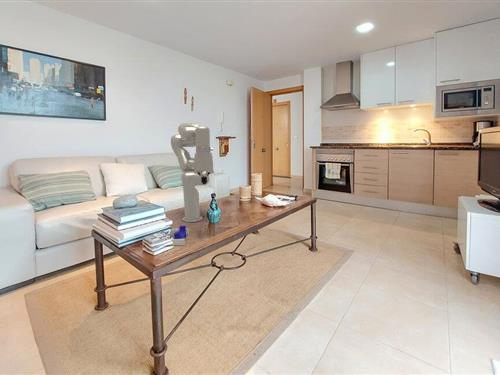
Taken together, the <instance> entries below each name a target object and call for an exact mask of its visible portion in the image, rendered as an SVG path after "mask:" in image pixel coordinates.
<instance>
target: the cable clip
mask: <svg viewBox="0 0 500 375" xmlns="http://www.w3.org/2000/svg"><path fill="white" fill-rule="evenodd" d="M186 228H187V226H186V225H179V228H178V229H179V231H177V232H176V233H174V235H173V239H185V240H186V237H187V234H186Z"/></svg>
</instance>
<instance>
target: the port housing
mask: <svg viewBox="0 0 500 375" xmlns="http://www.w3.org/2000/svg"><path fill="white" fill-rule="evenodd" d="M177 231H179V228H170V229H169V230H168V232H167V234H170V235H172V236H174V233H176V232H177ZM189 231H190V228H188V227H186V235H190V232H189ZM172 242H173V245H175V246H185V245H186V238H185V239H174V238H173V239H172ZM175 246H174V247H175Z"/></svg>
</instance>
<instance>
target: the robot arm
mask: <svg viewBox="0 0 500 375" xmlns="http://www.w3.org/2000/svg"><path fill="white" fill-rule="evenodd" d="M177 131H178V134H174V135H172V136H171V138H170V145H171V148H172V150H173V153H174V154H175V156H176V157H177V161H178V165H179V168H180V170H181V172H182V174H181V176H180V177H181V178H180V180H181V185H182V190H183V205H184V206H183V208H184V217H182V222H184V223H185V222H186V223H196V222H200V221H202V220H203V216H202V215H200V213H201V212H200V210H201V209H200V192H199V191H198V189H197V188H196V187H197V186H206V185H208V184H209V183H210V175H211V174H214V173H215V171H214V159H213V153H212V151H214V149H213V148H212V147H211V141H210V140H211V138H210V136H211V135H210V128H209V127H208V126H201V125H200V124H199V123H193V122H192V123H191V122H190V123H189V122H186V123H185V122H184V123H181V124H180V125H179V126H178V128H177ZM186 148H195V153H194V157H191V154H190V152H189V151H188V150H187V149H186Z"/></svg>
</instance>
